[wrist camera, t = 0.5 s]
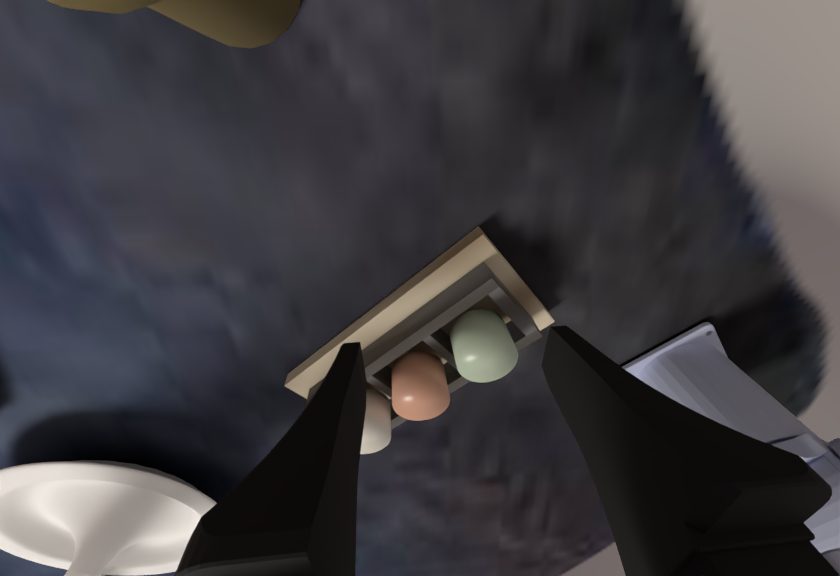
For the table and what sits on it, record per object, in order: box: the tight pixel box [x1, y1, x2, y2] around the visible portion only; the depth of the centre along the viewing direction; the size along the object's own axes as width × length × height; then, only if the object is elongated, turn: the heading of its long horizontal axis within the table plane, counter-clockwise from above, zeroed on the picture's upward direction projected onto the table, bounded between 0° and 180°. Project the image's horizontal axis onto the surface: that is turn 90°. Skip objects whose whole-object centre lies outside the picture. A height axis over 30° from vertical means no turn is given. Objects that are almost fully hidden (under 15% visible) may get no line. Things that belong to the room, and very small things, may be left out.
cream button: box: [360, 389, 391, 454], centre depth 24 cm, size 4×4×3 cm
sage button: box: [449, 309, 518, 382], centre depth 21 cm, size 4×4×3 cm
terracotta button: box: [392, 351, 450, 421], centre depth 23 cm, size 4×4×3 cm
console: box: [284, 226, 555, 430], centre depth 25 cm, size 9×18×3 cm, turn 130°
